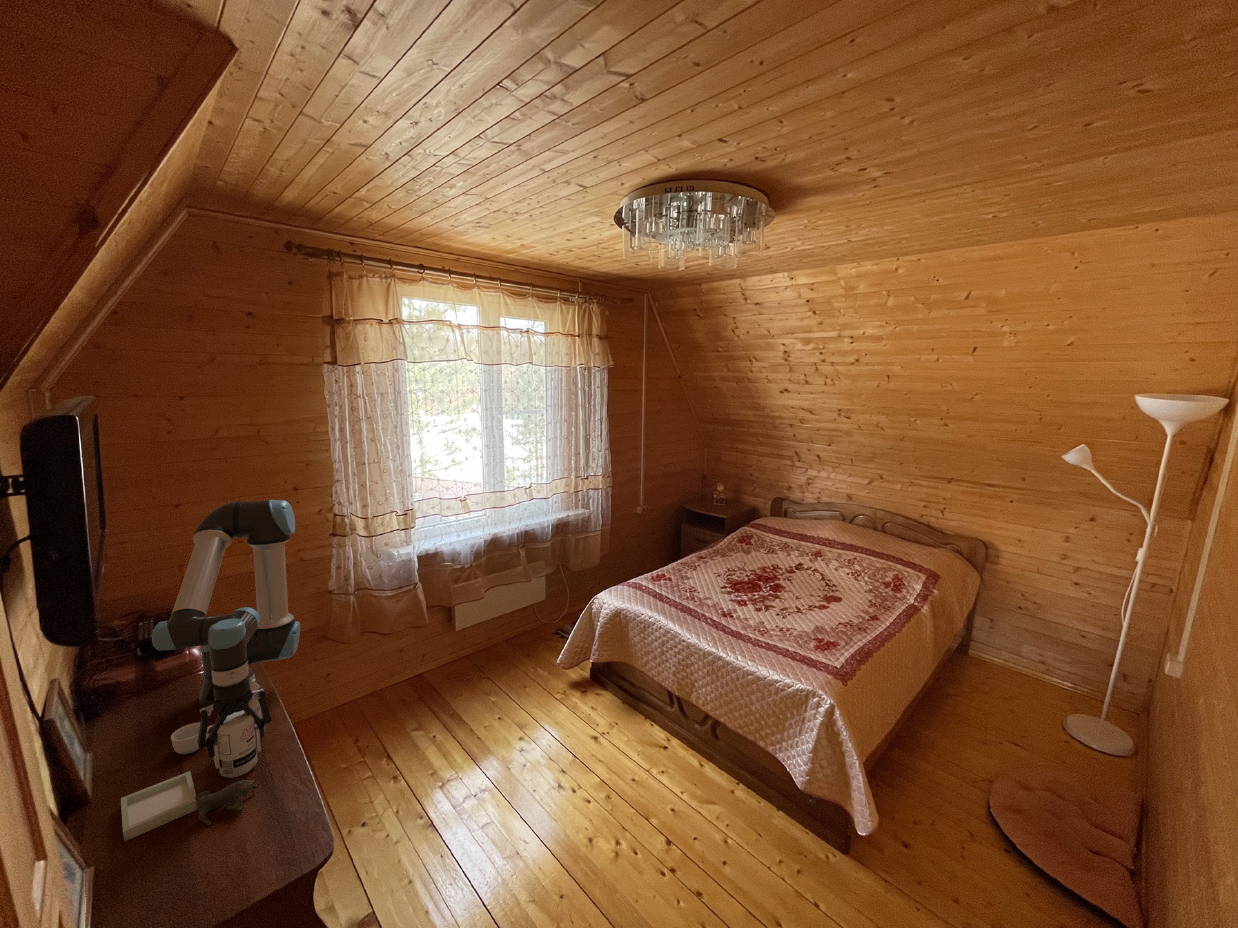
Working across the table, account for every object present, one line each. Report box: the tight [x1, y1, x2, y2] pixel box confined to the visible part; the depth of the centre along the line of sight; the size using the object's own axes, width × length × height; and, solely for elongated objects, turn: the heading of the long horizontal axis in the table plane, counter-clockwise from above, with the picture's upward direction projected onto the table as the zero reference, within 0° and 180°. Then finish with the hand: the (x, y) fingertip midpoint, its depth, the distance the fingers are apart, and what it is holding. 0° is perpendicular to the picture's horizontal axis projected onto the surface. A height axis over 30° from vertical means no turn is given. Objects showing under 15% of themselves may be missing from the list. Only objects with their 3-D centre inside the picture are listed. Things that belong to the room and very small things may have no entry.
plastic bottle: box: [248, 672, 266, 734], centre depth 147 cm, size 6×7×20 cm
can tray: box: [120, 770, 198, 843], centre depth 124 cm, size 13×13×2 cm
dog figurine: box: [195, 779, 258, 826], centre depth 124 cm, size 12×6×7 cm, turn 131°
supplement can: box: [216, 710, 259, 779], centre depth 136 cm, size 8×8×15 cm
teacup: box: [170, 721, 214, 755], centre depth 145 cm, size 10×8×5 cm
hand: (238, 756), depth 137 cm, fingers closed on supplement can, 8 cm apart
